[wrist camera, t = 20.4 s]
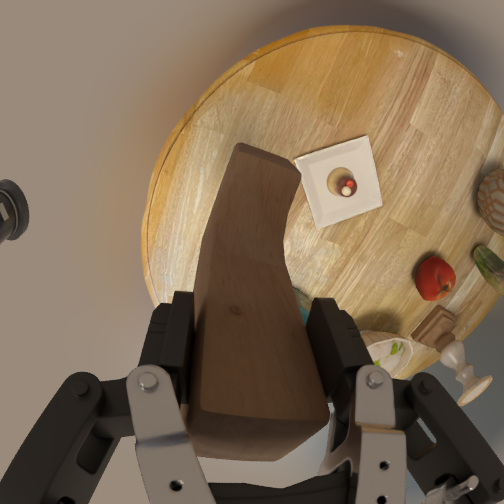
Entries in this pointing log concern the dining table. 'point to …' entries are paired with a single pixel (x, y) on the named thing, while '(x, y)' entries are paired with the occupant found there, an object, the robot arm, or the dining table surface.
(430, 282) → the tomato
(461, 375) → the candle holder
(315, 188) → the dessert
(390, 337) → the bowl
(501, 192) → the vase
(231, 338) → the wooden block
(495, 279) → the vegetable
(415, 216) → the dining table surface
